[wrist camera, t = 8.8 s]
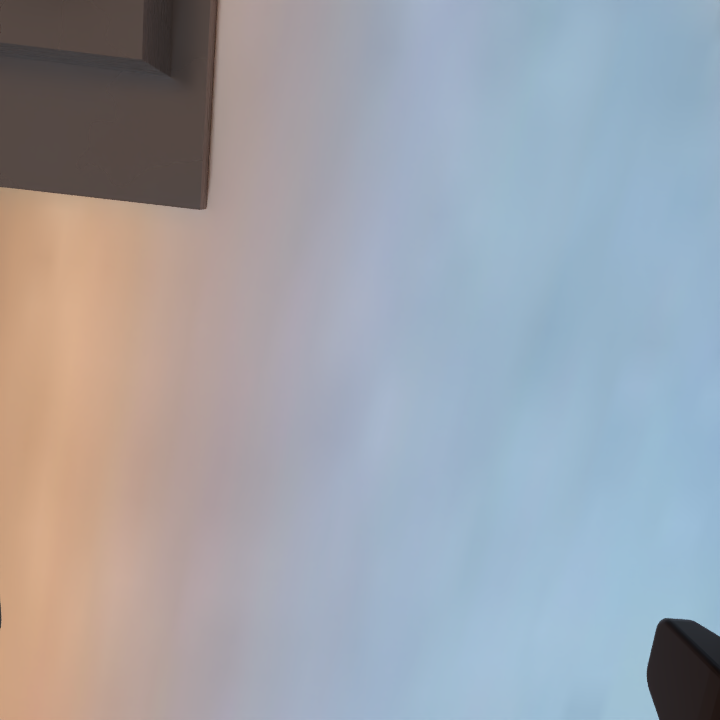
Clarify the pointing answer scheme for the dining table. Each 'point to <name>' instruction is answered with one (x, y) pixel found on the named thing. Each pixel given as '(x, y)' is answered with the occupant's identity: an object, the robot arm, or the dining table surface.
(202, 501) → the dining table surface
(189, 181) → the base plate
